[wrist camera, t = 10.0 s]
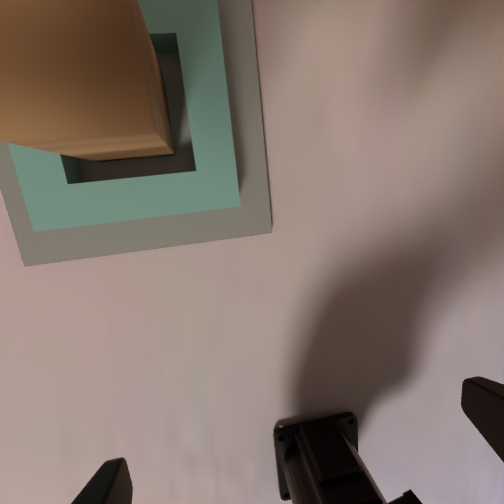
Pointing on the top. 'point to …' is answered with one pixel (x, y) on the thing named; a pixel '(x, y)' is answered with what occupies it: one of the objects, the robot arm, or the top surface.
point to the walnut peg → (82, 80)
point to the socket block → (163, 167)
